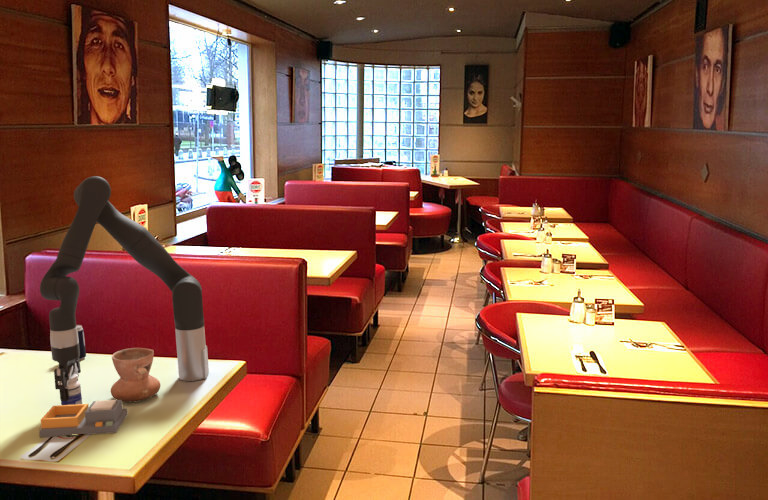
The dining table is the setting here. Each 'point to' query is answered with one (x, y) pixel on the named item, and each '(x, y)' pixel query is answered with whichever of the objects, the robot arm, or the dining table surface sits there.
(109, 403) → the button
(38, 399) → the dining table surface
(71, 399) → the pill bottle
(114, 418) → the grey and orange tray
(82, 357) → the beverage can
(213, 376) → the dining table surface
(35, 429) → the dining table surface
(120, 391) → the ceramic jug
